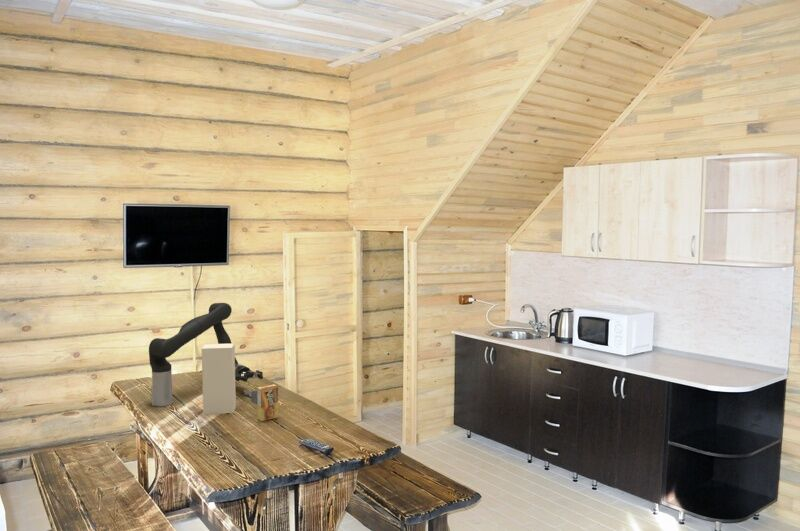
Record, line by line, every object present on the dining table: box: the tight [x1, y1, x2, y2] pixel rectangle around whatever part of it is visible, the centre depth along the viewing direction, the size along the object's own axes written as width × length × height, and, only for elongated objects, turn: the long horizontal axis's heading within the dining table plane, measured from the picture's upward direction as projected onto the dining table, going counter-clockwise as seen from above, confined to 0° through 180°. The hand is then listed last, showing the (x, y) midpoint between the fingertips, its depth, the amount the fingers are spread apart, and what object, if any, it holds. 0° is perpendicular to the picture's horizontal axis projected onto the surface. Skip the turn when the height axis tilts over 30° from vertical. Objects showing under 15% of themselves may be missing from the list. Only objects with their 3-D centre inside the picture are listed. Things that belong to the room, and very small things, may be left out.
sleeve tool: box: [243, 388, 258, 405], centre depth 327 cm, size 6×19×5 cm, turn 38°
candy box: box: [256, 384, 279, 422], centre depth 296 cm, size 9×4×15 cm, turn 129°
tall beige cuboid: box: [201, 342, 237, 415], centre depth 306 cm, size 14×10×32 cm
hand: (254, 378), depth 327 cm, fingers open, 8 cm apart
